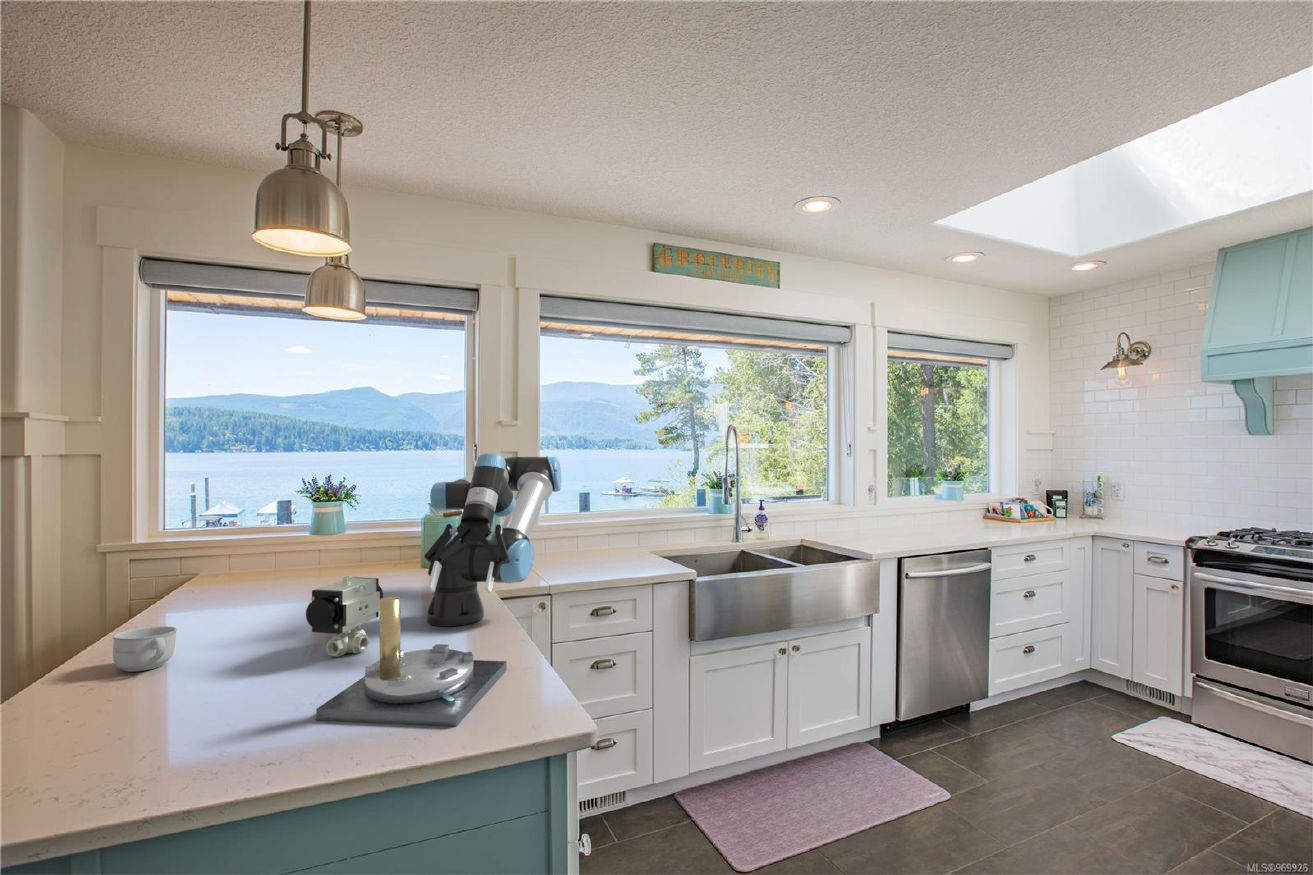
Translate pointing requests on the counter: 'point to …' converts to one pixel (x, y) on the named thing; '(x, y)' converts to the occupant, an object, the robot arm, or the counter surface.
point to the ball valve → (345, 612)
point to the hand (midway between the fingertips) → (459, 590)
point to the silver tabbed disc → (413, 665)
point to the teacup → (143, 647)
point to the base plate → (430, 712)
